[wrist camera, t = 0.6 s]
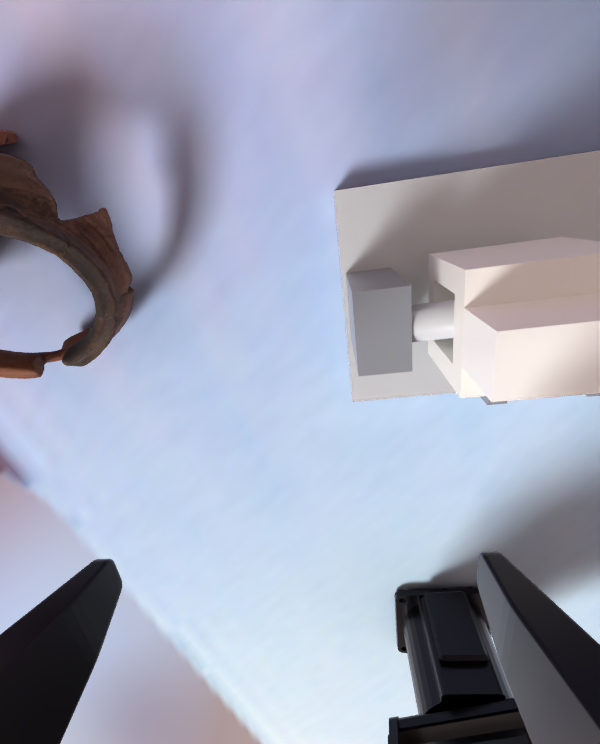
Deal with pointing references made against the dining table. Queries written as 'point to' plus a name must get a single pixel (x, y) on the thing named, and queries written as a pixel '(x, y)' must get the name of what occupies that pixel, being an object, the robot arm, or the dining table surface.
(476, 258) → the white slider block
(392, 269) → the slider rail board
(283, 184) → the dining table surface
